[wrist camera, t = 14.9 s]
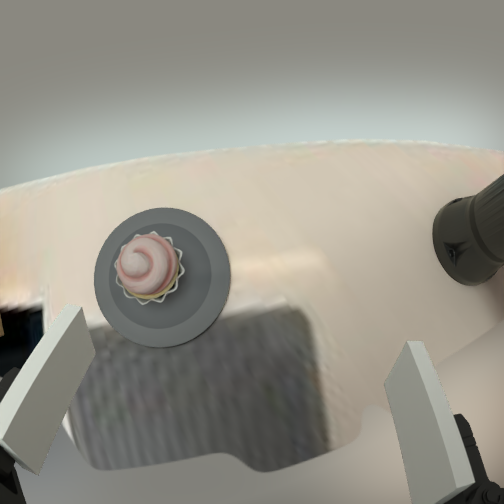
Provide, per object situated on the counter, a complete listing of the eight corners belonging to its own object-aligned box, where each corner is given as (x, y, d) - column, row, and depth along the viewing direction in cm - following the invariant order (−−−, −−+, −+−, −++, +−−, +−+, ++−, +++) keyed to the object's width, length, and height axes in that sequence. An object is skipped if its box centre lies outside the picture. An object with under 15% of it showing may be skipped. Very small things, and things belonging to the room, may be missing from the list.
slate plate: (251, 237, 47) (251, 234, 46) (198, 370, 41) (197, 370, 40) (132, 194, 48) (129, 191, 47) (78, 311, 43) (74, 310, 42)
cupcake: (204, 266, 44) (193, 245, 34) (163, 322, 42) (141, 315, 32) (153, 230, 45) (132, 201, 36) (114, 281, 43) (83, 264, 34)
